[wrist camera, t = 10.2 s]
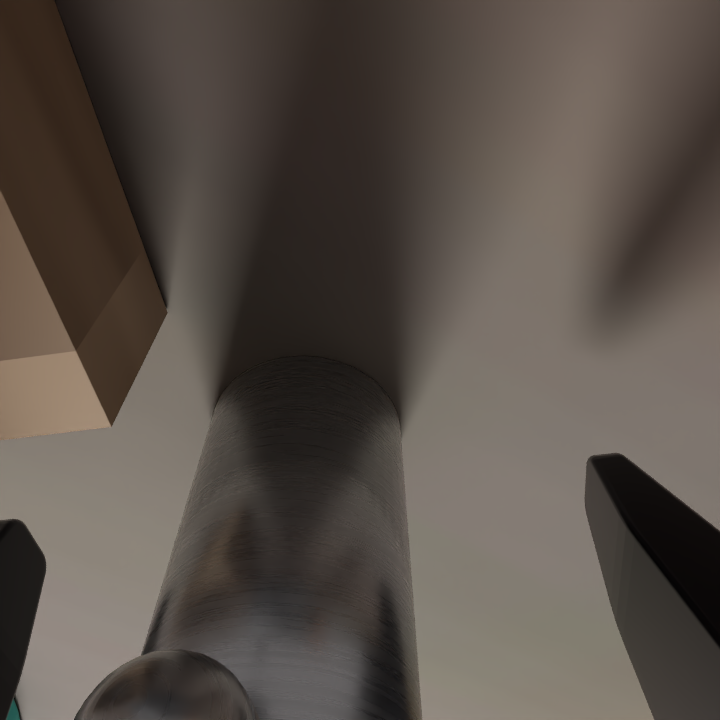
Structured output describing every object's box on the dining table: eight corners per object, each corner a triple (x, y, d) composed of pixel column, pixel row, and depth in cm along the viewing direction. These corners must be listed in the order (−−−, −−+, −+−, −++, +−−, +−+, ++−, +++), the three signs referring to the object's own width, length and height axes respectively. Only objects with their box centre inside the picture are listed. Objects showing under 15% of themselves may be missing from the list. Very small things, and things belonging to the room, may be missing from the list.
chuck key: (372, 243, 9) (394, 902, 3) (419, 552, 12) (473, 1139, 6) (154, 274, 9) (-230, 935, 3) (260, 567, 12) (170, 1144, 7)
